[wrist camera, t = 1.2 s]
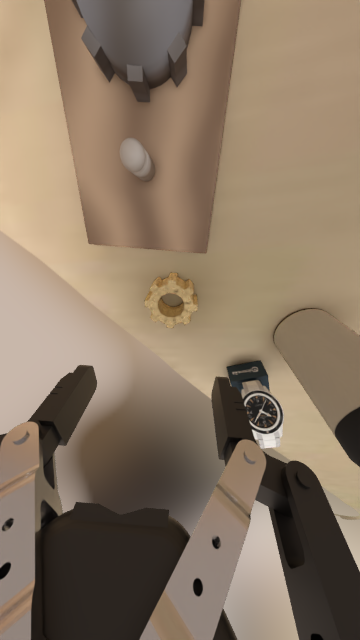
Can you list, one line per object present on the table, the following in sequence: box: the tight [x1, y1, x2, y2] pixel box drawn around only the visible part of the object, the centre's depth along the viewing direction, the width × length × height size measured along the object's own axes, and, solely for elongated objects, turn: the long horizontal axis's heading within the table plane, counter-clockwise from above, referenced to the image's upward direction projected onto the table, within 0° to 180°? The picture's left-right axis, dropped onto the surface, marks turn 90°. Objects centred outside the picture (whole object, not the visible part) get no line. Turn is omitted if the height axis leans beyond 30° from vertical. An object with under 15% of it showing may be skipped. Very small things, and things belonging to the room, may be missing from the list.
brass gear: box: [145, 273, 198, 328], centre depth 22 cm, size 6×6×3 cm
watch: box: [227, 360, 284, 448], centre depth 26 cm, size 6×8×11 cm
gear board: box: [44, 0, 241, 253], centre depth 13 cm, size 13×20×6 cm, turn 176°
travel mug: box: [274, 309, 360, 467], centre depth 18 cm, size 8×8×18 cm
